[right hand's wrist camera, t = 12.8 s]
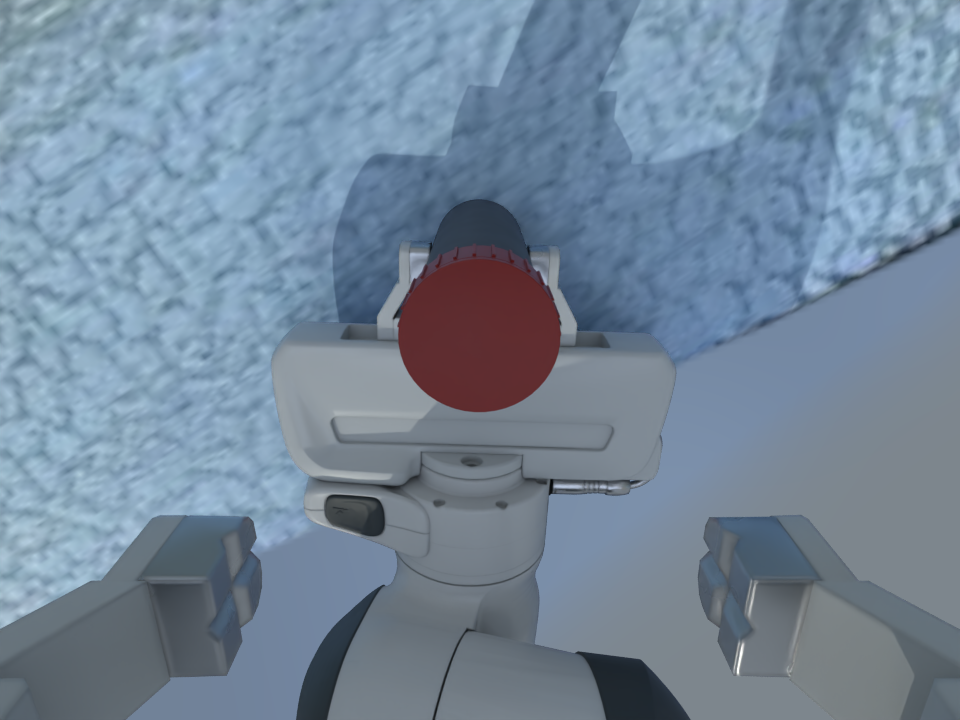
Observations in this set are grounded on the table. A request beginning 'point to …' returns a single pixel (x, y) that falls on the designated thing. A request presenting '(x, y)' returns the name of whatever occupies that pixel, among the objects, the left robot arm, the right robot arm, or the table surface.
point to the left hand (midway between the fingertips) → (479, 244)
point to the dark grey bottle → (479, 229)
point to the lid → (479, 329)
